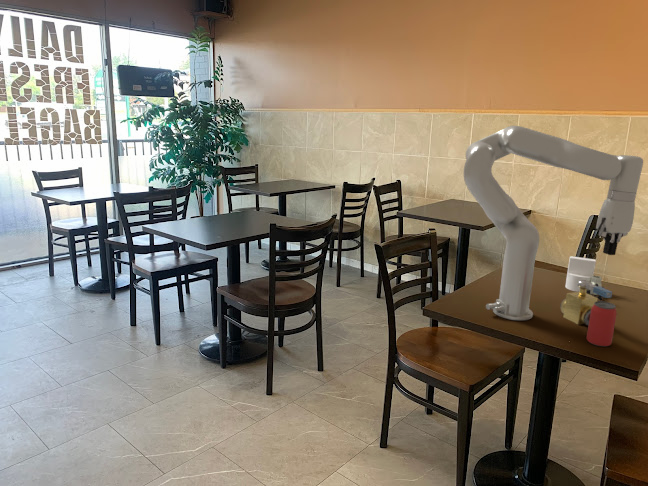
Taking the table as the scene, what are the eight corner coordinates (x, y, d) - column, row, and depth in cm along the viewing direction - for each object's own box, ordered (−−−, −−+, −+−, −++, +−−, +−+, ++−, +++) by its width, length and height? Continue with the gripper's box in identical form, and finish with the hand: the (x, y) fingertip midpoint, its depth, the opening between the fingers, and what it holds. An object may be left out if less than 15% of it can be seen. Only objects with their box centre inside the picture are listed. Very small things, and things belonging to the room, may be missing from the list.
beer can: (584, 336, 154) (590, 299, 151) (608, 339, 152) (614, 302, 149) (588, 345, 148) (594, 307, 145) (613, 348, 146) (620, 309, 143)
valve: (584, 290, 195) (583, 300, 185) (586, 273, 194) (586, 282, 183) (603, 293, 192) (604, 303, 182) (606, 276, 191) (607, 285, 180)
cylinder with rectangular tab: (564, 289, 195) (568, 259, 192) (566, 283, 203) (570, 254, 200) (590, 294, 191) (595, 263, 188) (591, 287, 199) (596, 257, 196)
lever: (574, 285, 165) (575, 280, 164) (583, 284, 166) (584, 279, 165) (603, 298, 154) (604, 292, 153) (613, 297, 155) (614, 291, 154)
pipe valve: (600, 325, 162) (606, 292, 159) (584, 328, 160) (590, 294, 157) (572, 311, 173) (577, 280, 170) (557, 313, 171) (561, 282, 168)
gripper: (628, 194, 161) (616, 249, 166) (592, 194, 156) (581, 251, 161) (650, 198, 154) (636, 256, 159) (613, 198, 149) (600, 258, 154)
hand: (608, 253), depth 160 cm, fingers closed
